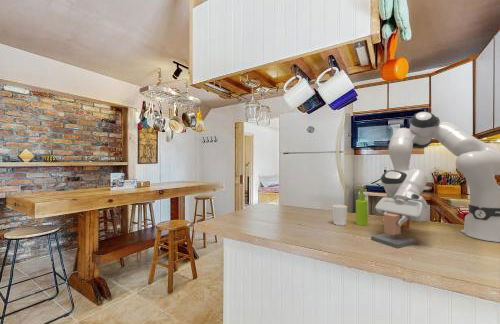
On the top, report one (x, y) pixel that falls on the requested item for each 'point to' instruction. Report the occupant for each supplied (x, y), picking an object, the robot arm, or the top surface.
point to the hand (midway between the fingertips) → (391, 223)
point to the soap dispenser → (361, 209)
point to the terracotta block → (391, 224)
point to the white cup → (339, 214)
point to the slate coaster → (393, 240)
